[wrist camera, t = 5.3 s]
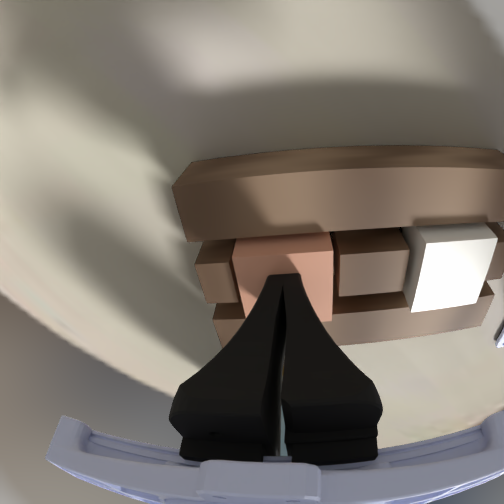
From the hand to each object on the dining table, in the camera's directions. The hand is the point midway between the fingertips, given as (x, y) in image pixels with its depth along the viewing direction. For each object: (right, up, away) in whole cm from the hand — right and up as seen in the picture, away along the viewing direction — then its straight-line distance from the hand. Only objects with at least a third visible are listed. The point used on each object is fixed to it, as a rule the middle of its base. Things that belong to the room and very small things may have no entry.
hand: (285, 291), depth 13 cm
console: (+4, +2, +2) cm, 5 cm away
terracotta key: (0, +2, +2) cm, 3 cm away
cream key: (+8, +2, +1) cm, 9 cm away
